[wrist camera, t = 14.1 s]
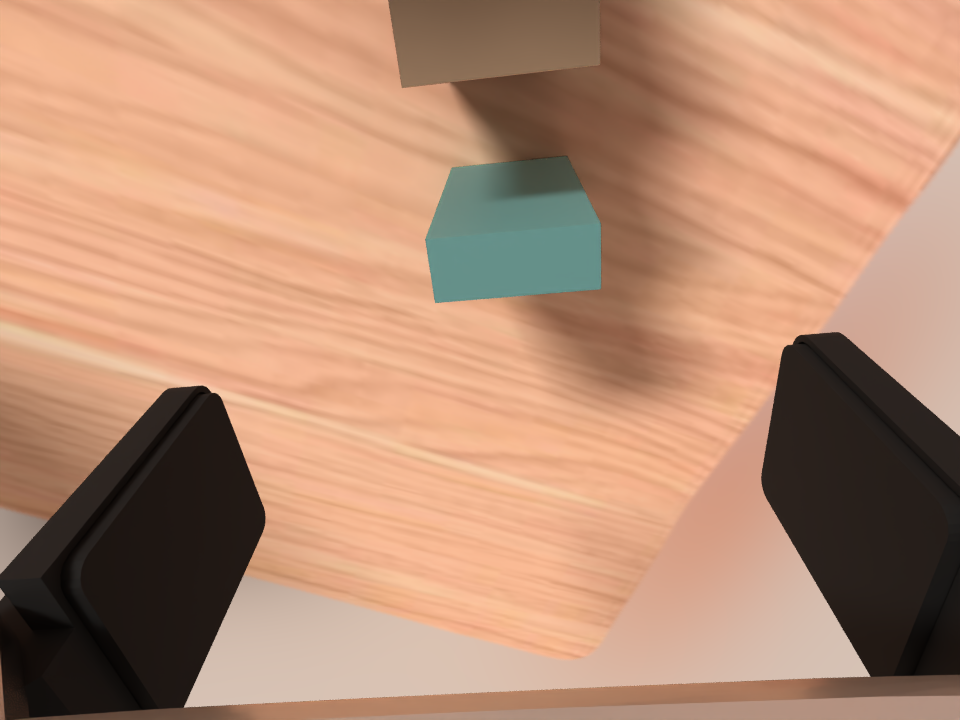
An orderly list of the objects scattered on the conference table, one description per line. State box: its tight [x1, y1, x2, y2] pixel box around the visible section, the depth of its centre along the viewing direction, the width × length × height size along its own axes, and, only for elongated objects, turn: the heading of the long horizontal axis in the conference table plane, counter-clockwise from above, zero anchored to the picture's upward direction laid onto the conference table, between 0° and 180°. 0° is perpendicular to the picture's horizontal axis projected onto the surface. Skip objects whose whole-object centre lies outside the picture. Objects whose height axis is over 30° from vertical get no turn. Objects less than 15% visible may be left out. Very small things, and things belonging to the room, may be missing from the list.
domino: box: [388, 0, 600, 88], centre depth 19 cm, size 2×5×10 cm, turn 96°
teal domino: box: [425, 156, 601, 303], centre depth 22 cm, size 2×5×10 cm, turn 96°
